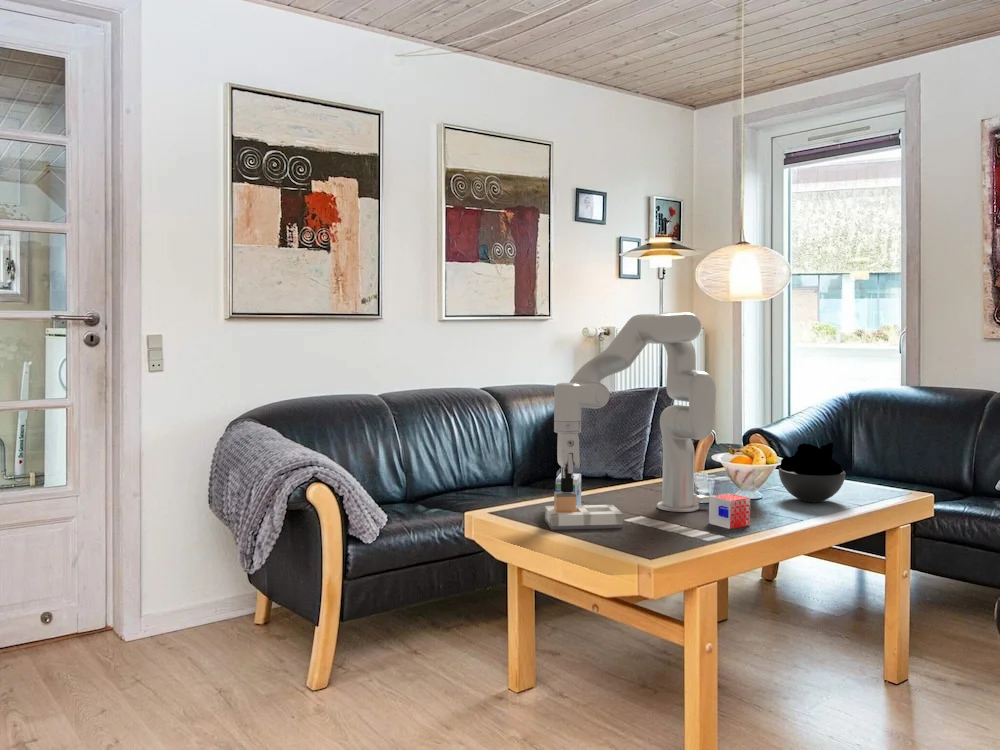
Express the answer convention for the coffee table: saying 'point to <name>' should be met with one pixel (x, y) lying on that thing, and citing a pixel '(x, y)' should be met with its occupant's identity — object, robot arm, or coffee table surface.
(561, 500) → the tan box
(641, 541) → the coffee table surface
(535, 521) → the coffee table surface
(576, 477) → the light bulb box
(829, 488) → the bowl of black rocks
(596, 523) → the socket plate
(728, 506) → the red and white box
